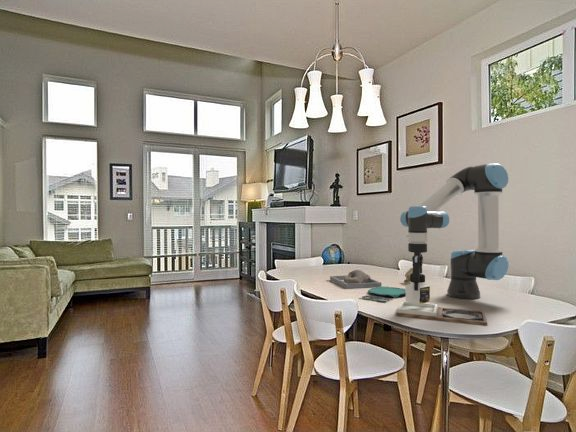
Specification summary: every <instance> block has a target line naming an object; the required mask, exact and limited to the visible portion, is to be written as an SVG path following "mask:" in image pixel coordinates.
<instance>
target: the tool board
mask: <svg viewBox="0 0 576 432" xmlns="http://www.w3.org/2000/svg"><path fill="white" fill-rule="evenodd" d="M453 313H454V314H455V313H456V314H457V313H458V314H465V313H468V314H467V315H471V314H472V315H471V316H474V315H475V316H474V318H464V317H455V316H453V315H452V316H451V315H449V314H453ZM395 314H396V317H403V318H404V317H405V318H413V319H421V320H431V319H432V321H440V322H451V323H459V322H460V323H463V324H469V323H470V324H471V325H480V326H488V320H487V316H486V312H485V310H477V309H465V308H464V309H463V308H452V307H443V306H441V307H440V306H439V305H438V303H430V302H428V303H424V304H415V303H411V302H406V300H404V301H403V300H402V301H401V302H399V305H398V306H397V308H396V313H395ZM477 316H478V317H477ZM460 323H459V324H460Z"/></svg>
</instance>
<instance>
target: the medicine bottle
mask: <svg viewBox="0 0 576 432" xmlns="http://www.w3.org/2000/svg"><path fill="white" fill-rule="evenodd" d="M412 279H413V273H412V274H410V283H411V284H408V285H406V284H405V289H406V294H405V301H406V302H411V303H415V304H424V303H430V302H431V299H430V298H431V295H430V294H431V293H430V292H431V289H430V288H431V286H430V285H428V284H426V275H425V274H424V273H422V274H421V273H420V279H419V281H420V299H418V298H413V282H411V280H412ZM415 279H416V278H415ZM424 284H425V285H424Z"/></svg>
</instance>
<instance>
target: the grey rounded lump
mask: <svg viewBox="0 0 576 432" xmlns="http://www.w3.org/2000/svg"><path fill="white" fill-rule="evenodd" d="M344 275H345V274H344ZM344 275H343V276H344ZM347 275H348V276H349V277H348V276H347ZM347 275H345V276H344V280H343V282H345V283H347V284H356V283H366V282H367V280H369V279H370V278H371V276H370V275H369V274H367V273H366V272H364V271H363V270H360V269H355V270H352V271H349V272H348V274H347Z"/></svg>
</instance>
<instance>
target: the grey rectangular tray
mask: <svg viewBox="0 0 576 432" xmlns="http://www.w3.org/2000/svg"><path fill="white" fill-rule="evenodd" d="M344 276H345V274H344V275H329V280H330V281H331V282H333V283H335V284H337V285H338V286H340V287H342V288H345V290H347V289H365V288H366V289H369V288H370V289H372V288H376V287H382V282H381V281H378V280H376V279H373V278H371V277H370V279H369V280H367V281H366V282H364V283H356V284H347V283H345V282H344ZM347 276H348V274H347ZM348 277H349V276H348Z"/></svg>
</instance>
